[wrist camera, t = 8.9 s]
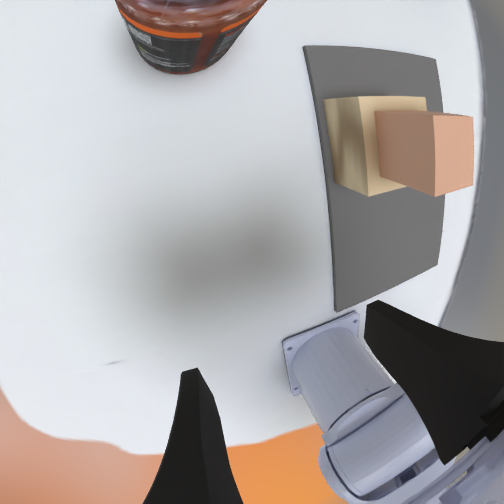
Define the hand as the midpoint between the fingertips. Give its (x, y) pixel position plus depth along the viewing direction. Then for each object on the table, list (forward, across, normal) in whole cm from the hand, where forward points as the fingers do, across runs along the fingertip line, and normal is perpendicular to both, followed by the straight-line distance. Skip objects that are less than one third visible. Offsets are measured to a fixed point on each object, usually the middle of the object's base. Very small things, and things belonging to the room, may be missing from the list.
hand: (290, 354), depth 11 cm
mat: (+10, -15, -2) cm, 18 cm away
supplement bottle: (+11, 0, -15) cm, 18 cm away
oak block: (+10, -11, -6) cm, 16 cm away
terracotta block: (+6, -11, -6) cm, 14 cm away
